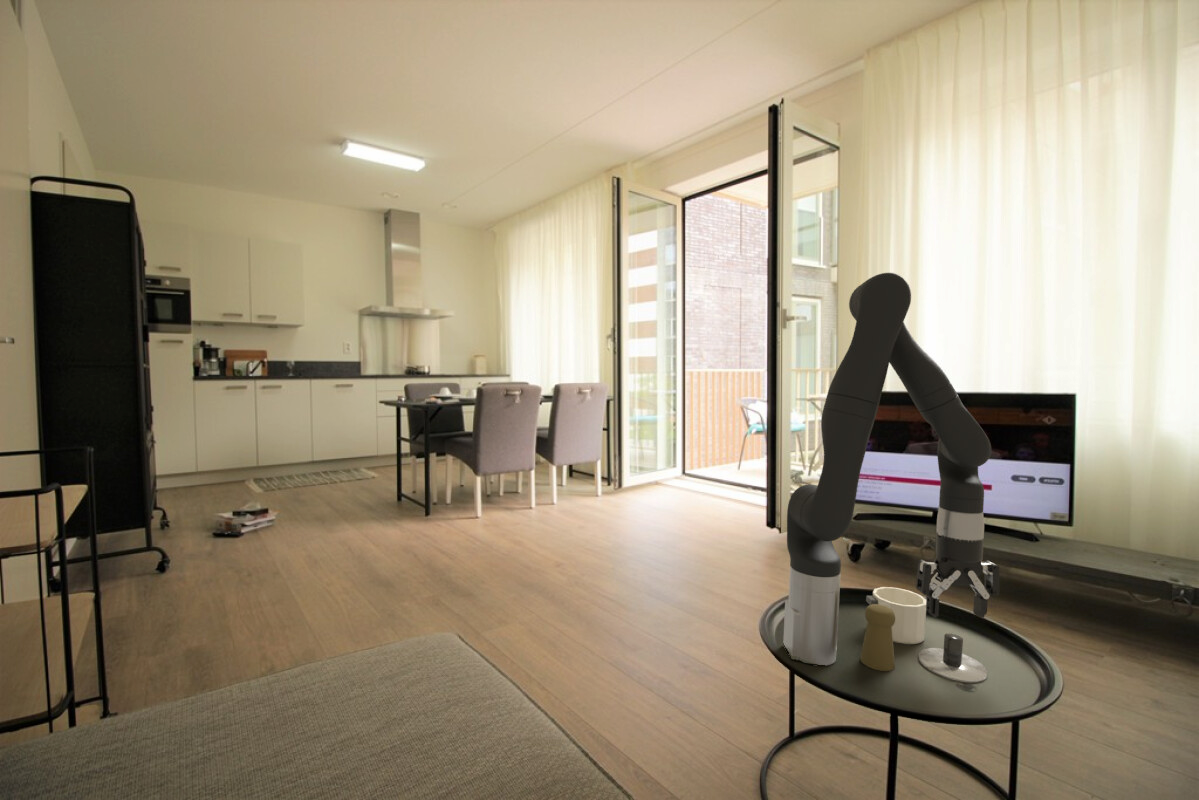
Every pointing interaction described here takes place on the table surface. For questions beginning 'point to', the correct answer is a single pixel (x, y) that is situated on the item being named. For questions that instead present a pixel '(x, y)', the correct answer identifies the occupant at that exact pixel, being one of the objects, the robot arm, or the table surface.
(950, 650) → the lid
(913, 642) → the pot
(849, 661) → the table surface
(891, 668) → the cork
